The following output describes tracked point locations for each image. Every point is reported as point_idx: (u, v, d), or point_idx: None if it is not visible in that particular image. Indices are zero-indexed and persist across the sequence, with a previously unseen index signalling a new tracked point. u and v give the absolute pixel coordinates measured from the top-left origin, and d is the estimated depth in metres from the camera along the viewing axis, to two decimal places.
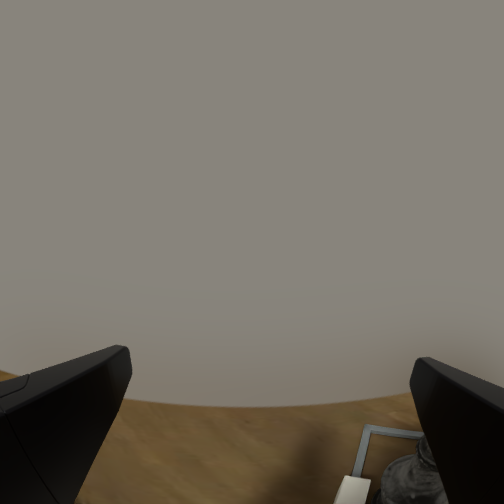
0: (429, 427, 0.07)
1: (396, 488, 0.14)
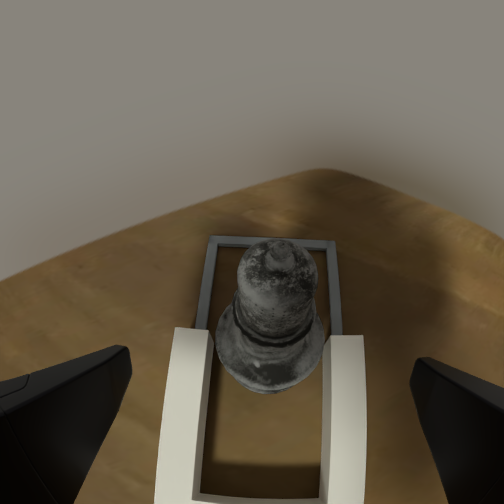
0: (429, 427, 0.07)
1: (234, 350, 0.15)
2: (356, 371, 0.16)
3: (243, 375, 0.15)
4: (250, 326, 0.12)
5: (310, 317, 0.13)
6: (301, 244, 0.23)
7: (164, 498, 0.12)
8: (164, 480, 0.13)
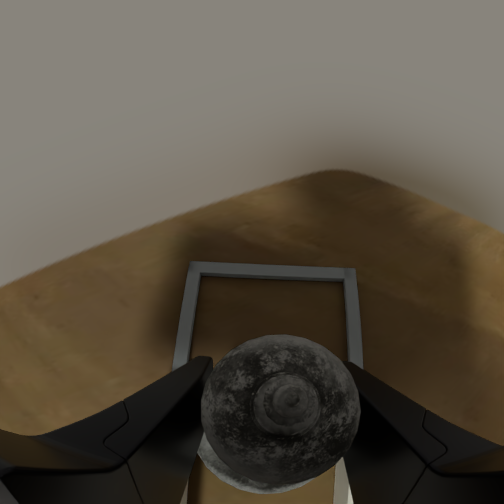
0: None
1: None
2: None
3: (229, 476, 0.09)
4: None
5: None
6: (311, 274, 0.17)
7: None
8: None
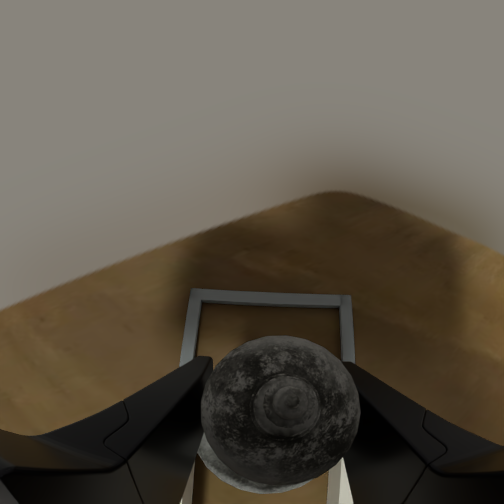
0: None
1: None
2: None
3: (229, 476, 0.09)
4: None
5: None
6: (308, 301, 0.18)
7: None
8: None
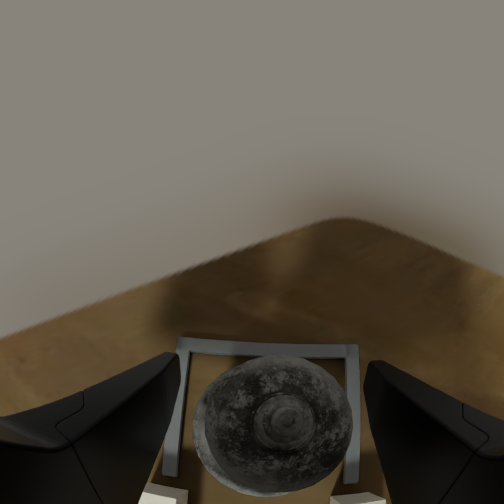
0: (378, 435, 0.07)
1: None
2: None
3: (230, 479, 0.09)
4: None
5: None
6: (310, 353, 0.15)
7: None
8: None
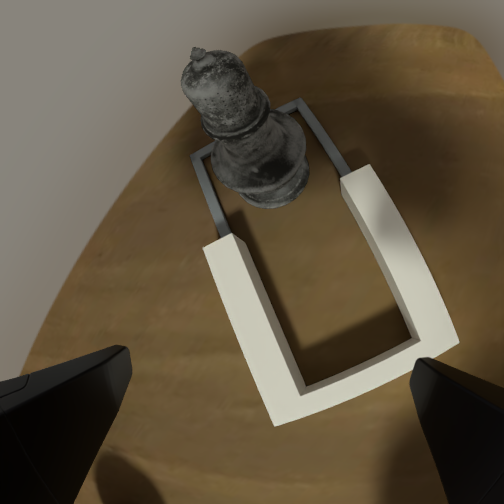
0: (429, 427, 0.07)
1: (232, 172, 0.18)
2: (381, 199, 0.16)
3: (251, 186, 0.17)
4: (221, 130, 0.14)
5: (265, 100, 0.14)
6: None
7: (276, 408, 0.16)
8: (268, 391, 0.16)
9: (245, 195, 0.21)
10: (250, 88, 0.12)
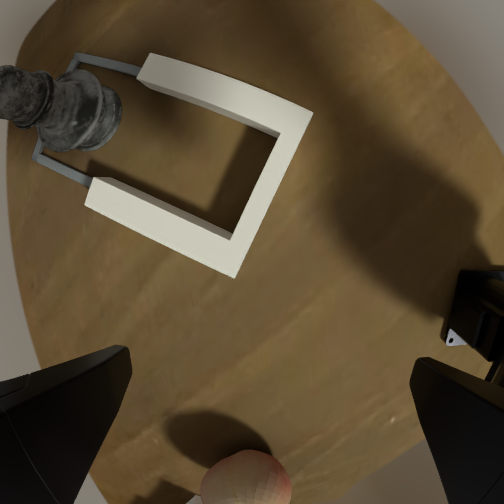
0: (429, 427, 0.07)
1: (62, 138, 0.16)
2: (174, 67, 0.17)
3: (80, 135, 0.17)
4: (31, 117, 0.13)
5: (45, 74, 0.12)
6: None
7: (223, 263, 0.19)
8: (206, 256, 0.19)
9: (86, 147, 0.20)
10: (28, 75, 0.11)
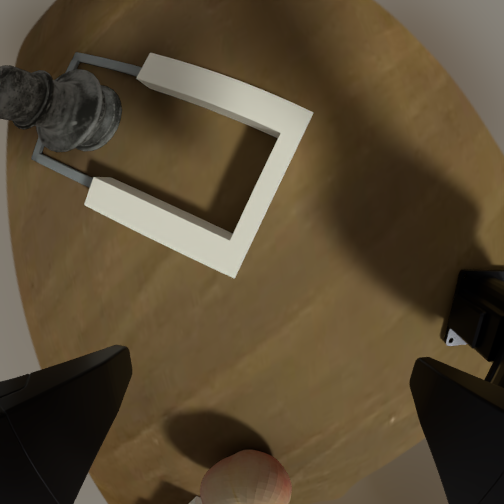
0: (429, 427, 0.07)
1: (62, 138, 0.16)
2: (174, 67, 0.17)
3: (80, 136, 0.17)
4: (30, 117, 0.13)
5: (44, 74, 0.12)
6: None
7: (223, 263, 0.19)
8: (206, 256, 0.19)
9: (86, 147, 0.20)
10: (27, 76, 0.11)
